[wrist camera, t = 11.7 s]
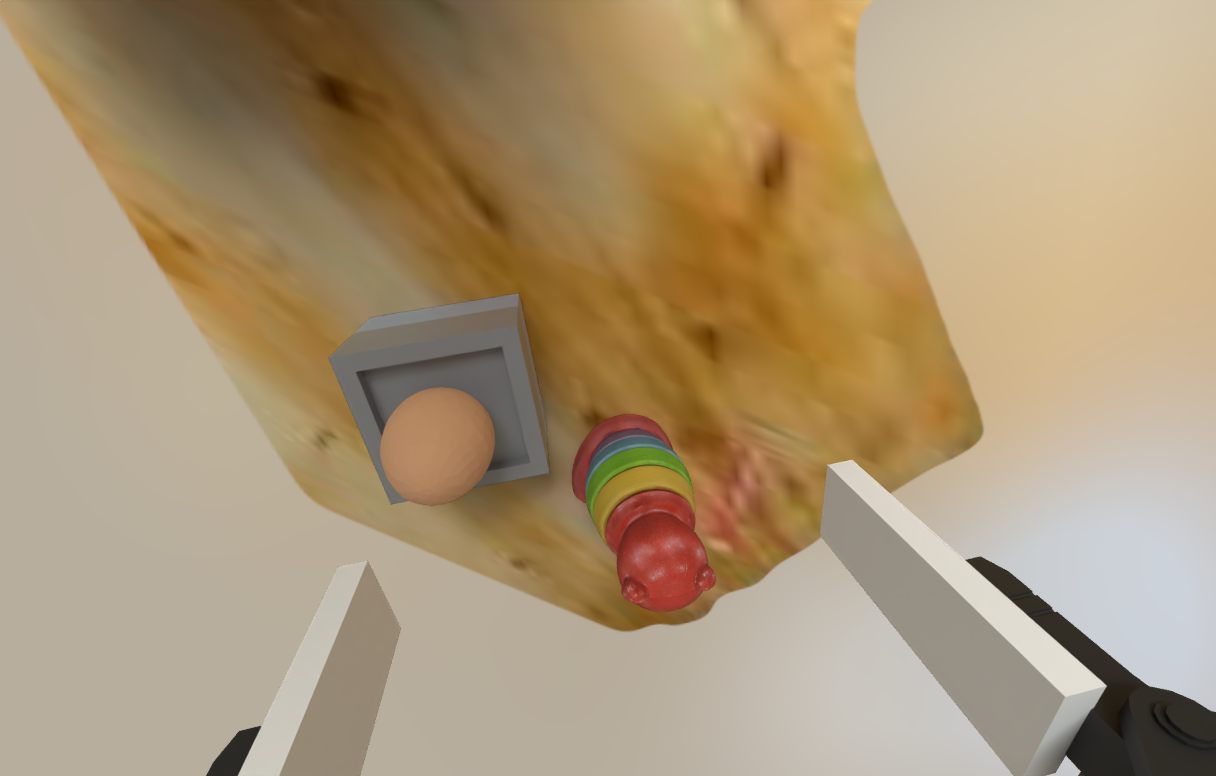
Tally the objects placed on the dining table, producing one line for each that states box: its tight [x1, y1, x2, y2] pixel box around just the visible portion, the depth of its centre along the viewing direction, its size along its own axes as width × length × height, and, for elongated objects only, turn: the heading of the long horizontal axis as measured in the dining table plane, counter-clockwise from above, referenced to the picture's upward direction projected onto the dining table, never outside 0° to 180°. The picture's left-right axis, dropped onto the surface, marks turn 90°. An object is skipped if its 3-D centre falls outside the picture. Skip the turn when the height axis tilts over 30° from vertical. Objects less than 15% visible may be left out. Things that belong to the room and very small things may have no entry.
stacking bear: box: [572, 414, 716, 612], centre depth 39 cm, size 11×10×18 cm
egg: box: [380, 387, 495, 506], centre depth 29 cm, size 7×7×9 cm
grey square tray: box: [328, 293, 550, 504], centre depth 36 cm, size 12×12×9 cm
